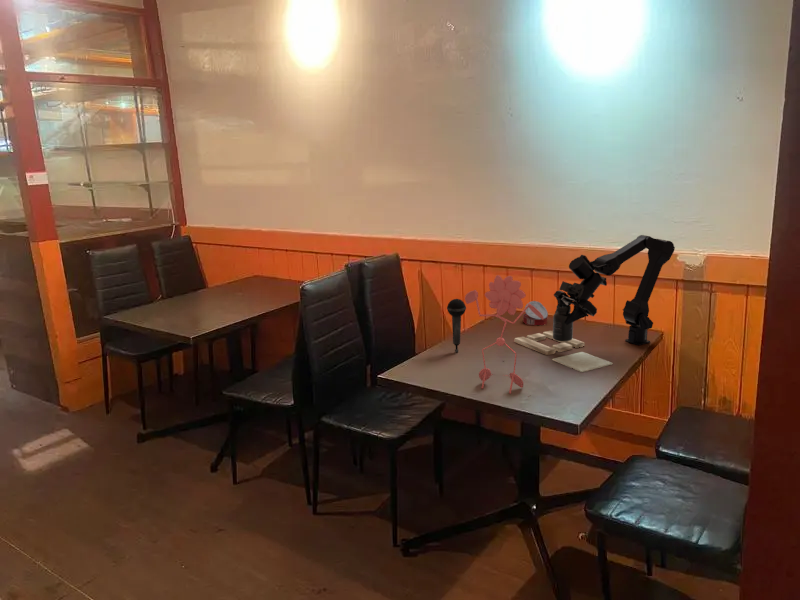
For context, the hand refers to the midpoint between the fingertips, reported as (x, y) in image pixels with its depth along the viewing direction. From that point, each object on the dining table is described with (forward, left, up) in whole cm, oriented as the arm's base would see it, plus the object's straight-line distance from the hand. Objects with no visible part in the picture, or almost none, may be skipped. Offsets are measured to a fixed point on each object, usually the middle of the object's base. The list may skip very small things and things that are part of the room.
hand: (559, 321), depth 219 cm
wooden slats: (-5, -11, -12) cm, 17 cm away
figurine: (+34, +12, -12) cm, 38 cm away
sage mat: (-1, +10, -12) cm, 16 cm away
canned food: (-20, -36, -13) cm, 43 cm away
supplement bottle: (-1, 0, -7) cm, 7 cm away
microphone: (+29, -22, -12) cm, 38 cm away
